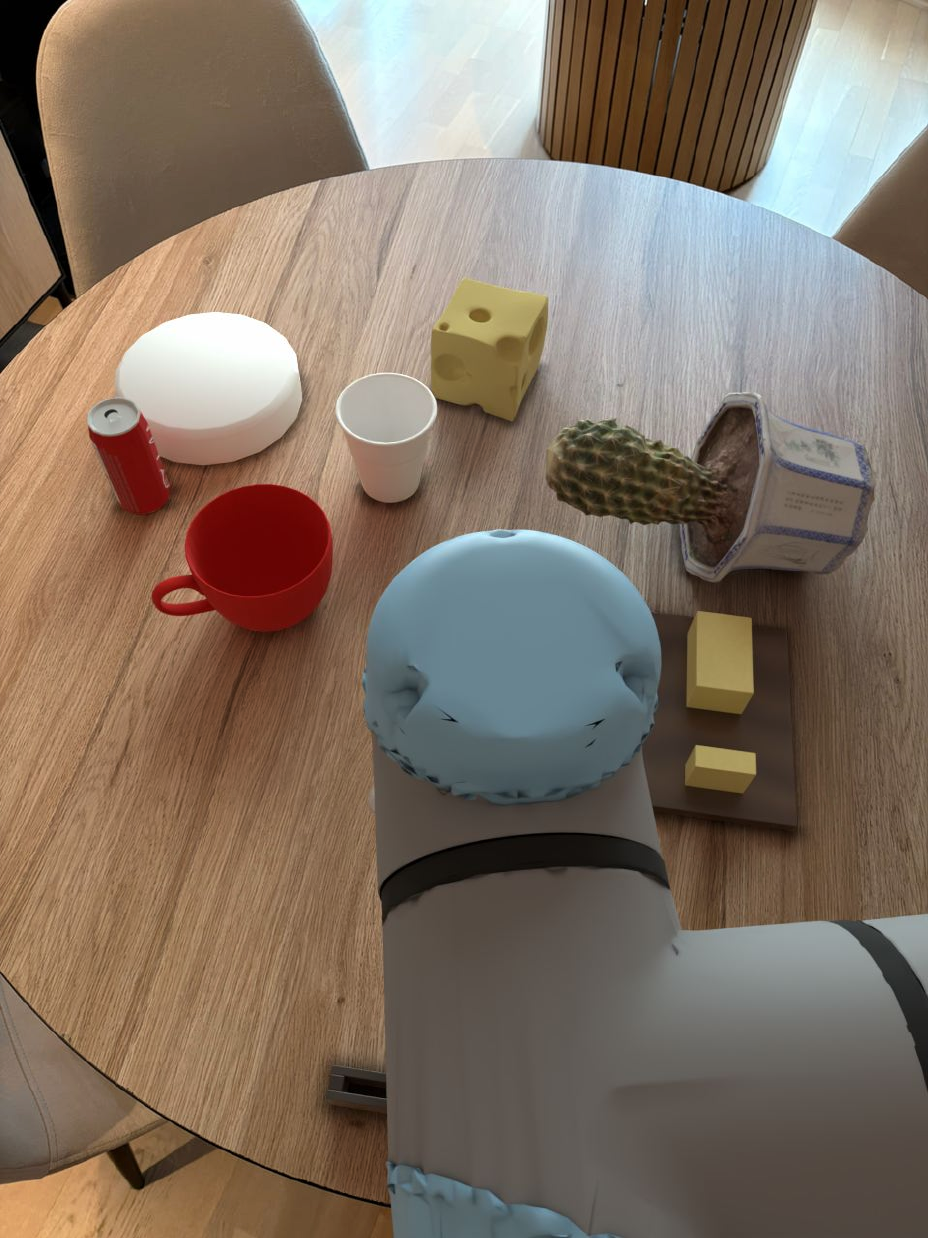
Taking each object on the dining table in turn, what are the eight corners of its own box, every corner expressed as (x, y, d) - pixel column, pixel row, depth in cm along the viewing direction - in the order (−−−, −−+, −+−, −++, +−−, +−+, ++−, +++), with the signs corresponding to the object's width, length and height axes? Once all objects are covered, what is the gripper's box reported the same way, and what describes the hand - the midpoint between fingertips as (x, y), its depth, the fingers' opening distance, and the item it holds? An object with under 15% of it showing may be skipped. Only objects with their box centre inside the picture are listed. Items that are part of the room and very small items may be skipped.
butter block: (741, 714, 86) (754, 693, 83) (686, 707, 86) (696, 685, 83) (740, 640, 90) (751, 617, 87) (687, 633, 91) (697, 610, 87)
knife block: (484, 1095, 70) (486, 1089, 67) (480, 1129, 68) (482, 1124, 65) (337, 1071, 70) (332, 1064, 67) (330, 1104, 69) (325, 1098, 66)
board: (793, 831, 81) (797, 826, 80) (629, 808, 82) (631, 803, 81) (783, 635, 92) (787, 629, 91) (638, 616, 93) (640, 610, 92)
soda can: (181, 500, 99) (153, 417, 89) (134, 525, 98) (99, 443, 87) (155, 468, 102) (124, 384, 92) (108, 492, 100) (72, 409, 90)
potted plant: (870, 378, 91) (576, 315, 84) (916, 531, 82) (591, 474, 75) (772, 488, 106) (515, 442, 99) (802, 629, 97) (521, 588, 90)
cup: (363, 530, 98) (356, 457, 89) (331, 464, 103) (320, 388, 94) (452, 501, 100) (453, 427, 91) (415, 438, 105) (413, 361, 96)
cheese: (514, 424, 107) (521, 354, 98) (425, 398, 109) (424, 328, 100) (543, 365, 112) (552, 294, 104) (458, 341, 114) (460, 270, 106)
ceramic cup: (148, 595, 93) (120, 531, 84) (307, 530, 98) (295, 464, 89) (196, 698, 87) (170, 640, 78) (363, 623, 92) (356, 562, 83)
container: (90, 441, 104) (76, 409, 100) (172, 324, 114) (163, 292, 110) (260, 483, 101) (253, 453, 97) (328, 360, 112) (324, 328, 108)
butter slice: (743, 793, 82) (756, 774, 78) (684, 785, 82) (695, 766, 79) (742, 772, 83) (755, 753, 80) (685, 764, 83) (695, 744, 80)
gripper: (423, 658, 40) (427, 851, 60) (345, 1046, 32) (379, 1122, 51) (600, 683, 40) (546, 869, 59) (569, 1084, 31) (517, 1145, 51)
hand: (469, 986), depth 55 cm, fingers closed on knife, 2 cm apart
